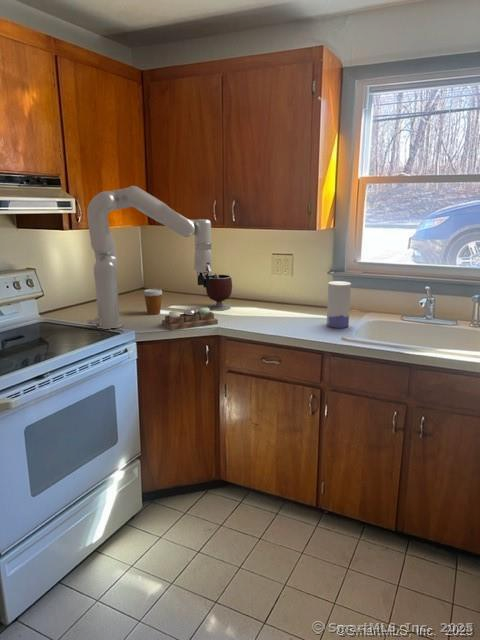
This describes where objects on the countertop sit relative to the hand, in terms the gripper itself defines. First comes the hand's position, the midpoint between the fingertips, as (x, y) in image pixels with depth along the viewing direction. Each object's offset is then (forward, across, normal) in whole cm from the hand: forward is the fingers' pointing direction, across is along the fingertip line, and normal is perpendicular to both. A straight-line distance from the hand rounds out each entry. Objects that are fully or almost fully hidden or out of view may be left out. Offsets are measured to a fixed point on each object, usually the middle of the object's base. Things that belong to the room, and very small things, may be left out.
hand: (203, 285), depth 220 cm
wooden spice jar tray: (+18, 0, -8) cm, 19 cm away
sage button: (+14, 0, 0) cm, 14 cm away
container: (+18, +35, +52) cm, 65 cm away
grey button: (+14, 0, -7) cm, 15 cm away
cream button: (+14, 0, -15) cm, 20 cm away
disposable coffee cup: (+18, -28, -16) cm, 37 cm away
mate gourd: (+18, -22, +18) cm, 34 cm away
